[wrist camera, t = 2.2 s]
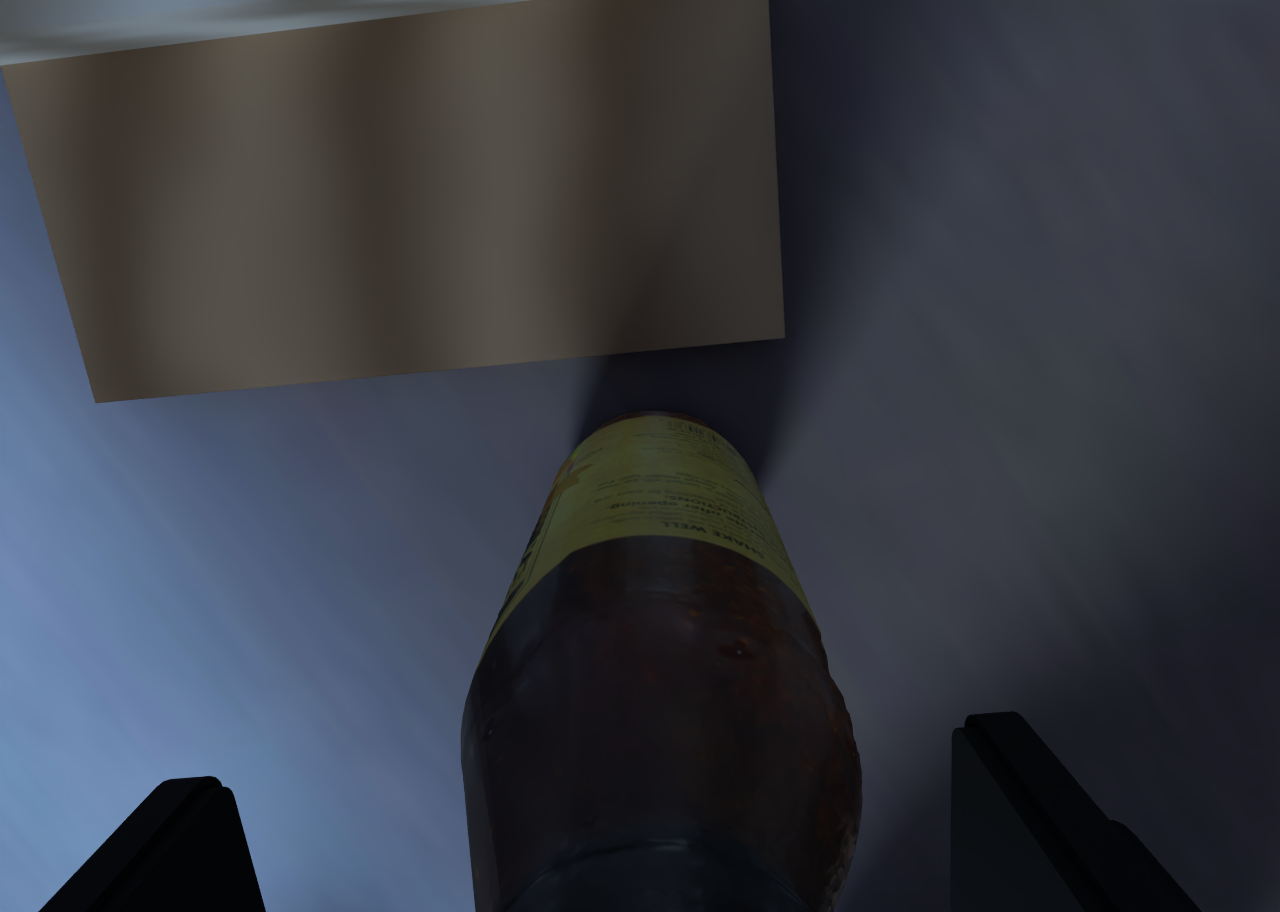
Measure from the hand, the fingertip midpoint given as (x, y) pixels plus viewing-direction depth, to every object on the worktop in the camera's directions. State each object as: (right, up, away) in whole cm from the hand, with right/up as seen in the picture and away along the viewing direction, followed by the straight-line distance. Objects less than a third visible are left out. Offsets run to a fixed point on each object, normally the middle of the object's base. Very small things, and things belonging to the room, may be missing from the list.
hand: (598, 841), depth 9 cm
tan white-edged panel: (-6, +13, +12) cm, 18 cm away
